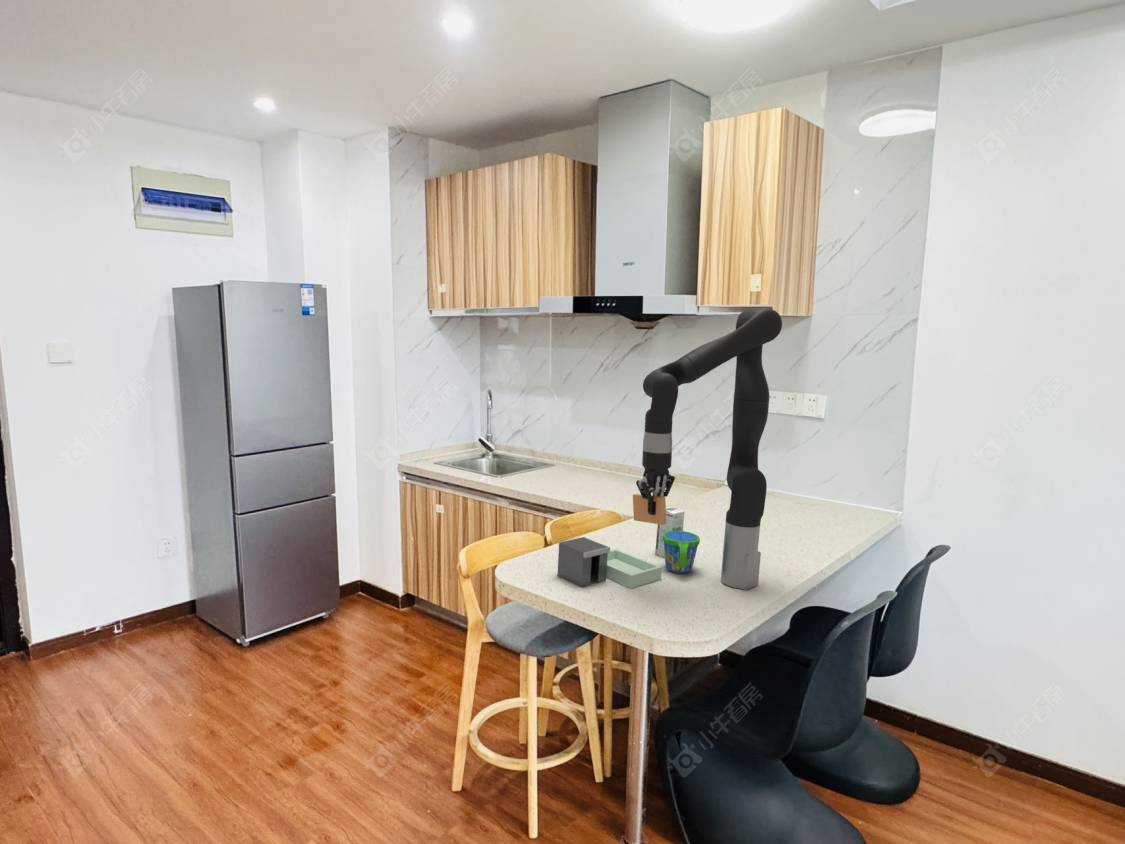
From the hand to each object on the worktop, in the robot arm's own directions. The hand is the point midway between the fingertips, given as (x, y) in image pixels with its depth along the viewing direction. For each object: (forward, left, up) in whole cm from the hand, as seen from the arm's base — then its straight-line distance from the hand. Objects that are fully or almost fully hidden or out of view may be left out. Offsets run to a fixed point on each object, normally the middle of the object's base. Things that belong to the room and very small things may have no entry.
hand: (654, 513), depth 176 cm
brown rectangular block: (+1, 0, -3) cm, 3 cm away
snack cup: (+5, -18, -21) cm, 28 cm away
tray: (+12, -2, -21) cm, 24 cm away
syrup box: (+15, -25, -21) cm, 35 cm away
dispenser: (+16, +10, -21) cm, 28 cm away
